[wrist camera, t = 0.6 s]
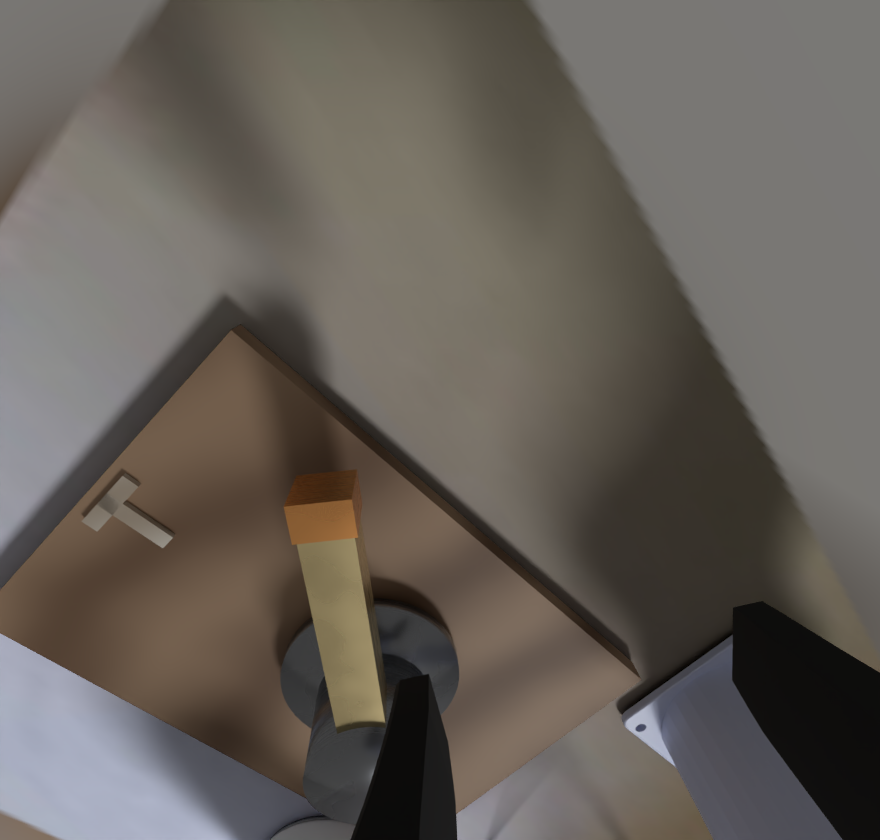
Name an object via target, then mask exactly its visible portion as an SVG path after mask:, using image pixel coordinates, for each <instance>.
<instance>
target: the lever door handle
mask: <svg viewBox="0 0 880 840" xmlns="http://www.w3.org/2000/svg"><path fill="white" fill-rule="evenodd" d="M284 511H285V515H286V520H287V525H288V529H289V534H290V538H291V543H292V545H296V544H297V548H298V553H299V557H300V562H301V567H302V571H303V576H304V581H305V585H306V590H307V595H308V599H309V604H310V609H311V614H312V617H311V618H310V619H308V620H307V621H306V622H305V623H304V624H303V625H302V626H301V627H300V628H299V629H298V630H297V632H296V633H295V634H294V635H293V637H292V639H291V641H290V642H289V644H288V647H287V650H286V652H285V656H284V660H283V663H282V668H281V673H280V683H281V689H282V693H283V696H284V699H285V701H286V703H287V705H288V707H289V708H290V709H291V711H292V712H293V713H294V715H295V716H296V717H297V718H298V719H299V720H300V721H301V722H303V723H304V724H305V725H307V726H308V727H309V728H311V735H310V741H309V746H308V752H307V758H306V764H305V770H304V775H303V790H304V793H305V796H306V798H307V800H308V801H309V803H310V804H311V805H312V806H313V807H314V808H315V809H316V810H317V811H319V812H320V813H322V814H323V815H325V816H327V817H329V818H331V819H334V820H336V821H340V822H343V823H349V824H356V823H357V820H358V818H359V815H360V812H361V809H362V807H363V804H364V801H365V798H366V795H367V792H368V789H369V785H370V782H371V779H372V776H373V773H374V769H375V766H376V763H377V760H378V757H379V753H380V750H381V746H382V743H383V739H384V735H385V732H386V728H387V724H388V720H389V716H390V712H391V707H392V703H393V698H394V693H395V688H396V685H397V683H398V682H399V681H400V680H402V679H407V678H411V677H416V676H421V675H425V674H429V676H430V679H431V683H432V687H433V690H434V694H435V697H436V701H437V704H438V708H439V711H440V715H441V714H442V713H443V712H444V711H445V710H446V709H447V707H448V706H449V705H450V703H451V701H452V700H453V698H454V696H455V693H456V690H457V688H458V683H459V664H458V657H457V651H456V647H455V645H454V642H453V640H452V638H451V636H450V634H449V633H448V631H447V630H446V629H445V627H444V626H443V625H442V624H441V623H440V622H439V621H438V620H437V619H436V618H434V617H433V616H432V615H430V614H429V613H427V612H425V611H424V610H422V609H420V608H418V607H416V606H413V605H410V604H408V603H404V602H401V601H397V600H391V599H383V598H373V594H372V587H371V581H370V574H369V568H368V561H367V555H366V549H365V542H364V536H363V529H362V523H361V511H362V498H361V492H360V485H359V479H358V472H357V469H355V470H345V471H336V472H326V473H317V474H307V475H297V476H296V478H295V480H294V483H293V485H292V488H291V490H290V492H289V495H288V497H287V500H286V502H285V505H284Z"/></svg>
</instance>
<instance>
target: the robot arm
mask: <svg viewBox="0 0 880 840" xmlns="http://www.w3.org/2000/svg"><path fill="white" fill-rule="evenodd" d="M622 722H623V724H624V726H625V727H626V728H627V729H628V730H629V731H631V732H632V733H633V734H634V735H636V736H637V737H638V738H639V739H641V740H642V741H643V742H645V743H646V744H647V745H648V746H650V747H651V748H652V749H653V750H655V751H656V752H657V753H658V754H660V755H661V756H662V757H664V758H665V759H666V760H667V761H669V762H670V763H671V764H672V765H674V766H675V767H676V768H677V770H678V772H679V773H680V775H681V777H682V779H683V781H684V783H685V785H686V787H687V789H688V791H689V793H690V795H691V797H692V799H693V801H694V803H695V805H696V806H697V808H698V810H699V812H700V814H701V816H702V818H703V820H704V822H705V824H706V826H707V828H708V830H709V832H710V834H711V836H712V837H713V839H714V840H880V673H879V672H878V671H876V670H874V669H873V668H871V667H869V666H868V665H866V664H864V663H863V662H861V661H859V660H858V659H856V658H854V657H853V656H851V655H849V654H848V653H846V652H844V651H843V650H841V649H839V648H838V647H836V646H834V645H833V644H831V643H830V642H828V641H826V640H825V639H823V638H821V637H820V636H818V635H816V634H815V633H813V632H812V631H810V630H808V629H807V628H805V627H804V626H802V625H800V624H799V623H797V622H795V621H794V620H792V619H791V618H789V617H787V616H786V615H784V614H782V613H781V612H779V611H778V610H776V609H774V608H773V607H771V606H769V605H768V604H766V603H764V602H763V601H761V602H757V603H752V604H747V605H743V606H738V607H734V608H733V635H731V636H730V637H728V638H727V639H726V640H724V641H723V642H721V643H720V644H719V645H717V646H716V647H714V648H713V649H712V650H710V651H709V652H707V653H706V654H705V655H703V656H702V657H701V658H699V659H698V660H696V661H695V662H694V663H692V664H691V665H689V666H688V667H687V668H685V669H684V670H682V671H681V672H680V673H678V674H677V675H675V676H674V677H673V678H671V679H670V680H668V681H667V682H666V683H664V684H663V685H661V686H660V687H659V688H657V689H656V690H654V691H653V692H652V693H650V694H649V695H647V696H646V697H645V698H643V699H642V700H640V701H639V702H638V703H636V704H635V705H633V706H632V707H631V708H629V709H628V710H626V711H625V712H624V713H623V715H622ZM351 840H457V824H456V801H455V792H454V784H453V775H452V768H451V760H450V752H449V745H448V740H447V736H446V732H445V729H444V725H443V722H442V718H441V715H440V711H439V708H438V704H437V701H436V697H435V694H434V690H433V687H432V683H431V679H430V676H429V674H425V675H421V676H416V677H411V678H407V679H402V680H400V681H399V682H398V683H397V685H396V688H395V693H394V698H393V703H392V707H391V712H390V716H389V720H388V724H387V728H386V732H385V735H384V739H383V743H382V746H381V750H380V753H379V757H378V760H377V763H376V766H375V769H374V773H373V776H372V779H371V782H370V785H369V789H368V792H367V795H366V798H365V801H364V804H363V807H362V809H361V812H360V815H359V818H358V820H357V823H356V826H355V829H354V831H353V834H352V837H351Z"/></svg>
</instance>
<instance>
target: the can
mask: <svg viewBox="0 0 880 840" xmlns="http://www.w3.org/2000/svg"><path fill="white" fill-rule="evenodd" d="M355 826H356V825H355V824H349V823H343V822H340V821H336V820H334V819H331V818H329V817H327V816H320V817H311V818H306V819H302V820H299V821H296V822H294V823H291V824H289V825H287V826H286V827H284V828H282V829H281V830H280V831H278V832H277V833H276V834H275V835H274V836H273V837H272V839H270V840H351V837H352V834H353V831H354V829H355Z"/></svg>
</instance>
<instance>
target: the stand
mask: <svg viewBox="0 0 880 840" xmlns="http://www.w3.org/2000/svg"><path fill="white" fill-rule="evenodd" d="M355 469H357V472H358V479H359V485H360V492H361V498H362V511H361V523H362V529H363V536H364V542H365V549H366V555H367V561H368V568H369V574H370V581H371V587H372V594H373V598H383V599H391V600H397V601H401V602H404V603H408V604H410V605H413V606H416V607H418V608H420V609H422V610H424V611H425V612H427V613H429V614H430V615H432V616H433V617H434V618H436V619H437V620H438V621H439V622H440V623H441V624H442V625H443V626H444V627H445V629H446V630H447V631H448V633H449V634H450V636H451V638H452V640H453V642H454V645H455V647H456V651H457V657H458V664H459V683H458V688H457V690H456V693H455V696H454V698H453V700H452V701H451V703H450V705H449V706H448V707H447V709H446V710H445V711H444V712H443V713H442V714H441V718H442V722H443V725H444V729H445V732H446V736H447V740H448V745H449V752H450V760H451V768H452V775H453V784H454V792H455V801H456V814H457V813H458V812H460V811H461V810H462V809H464V808H465V807H467V806H468V805H469V804H471V803H472V802H474V801H475V800H476V799H478V798H479V797H480V796H482V795H483V794H485V793H486V792H487V791H489V790H490V789H491V788H493V787H494V786H496V785H497V784H498V783H500V782H501V781H503V780H504V779H505V778H507V777H508V776H509V775H511V774H512V773H514V772H515V771H516V770H518V769H519V768H520V767H522V766H523V765H525V764H526V763H527V762H529V761H530V760H532V759H533V758H534V757H536V756H537V755H538V754H540V753H541V752H543V751H544V750H545V749H547V748H548V747H549V746H551V745H552V744H554V743H555V742H556V741H558V740H559V739H561V738H562V737H563V736H565V735H566V734H567V733H569V732H570V731H572V730H573V729H574V728H576V727H577V726H578V725H580V724H581V723H583V722H584V721H585V720H587V719H588V718H589V717H591V716H592V715H594V714H595V713H596V712H598V711H599V710H601V709H602V708H603V707H605V706H606V705H607V704H609V703H610V702H612V701H613V700H614V699H616V698H617V697H618V696H620V695H621V694H623V693H624V692H625V691H627V690H628V689H630V688H631V687H632V686H634V685H635V684H636V683H638V682H639V681H641V678H640V676H639V674H638V672H637V670H636V669H635V667H634V665H633V663H632V661H630V660H629V659H628V658H627V657H626V656H625V655H623V654H622V653H621V652H620V651H619V650H618V649H617V648H615V647H614V646H613V645H612V644H611V643H610V642H608V641H607V640H606V639H605V638H604V637H603V636H601V635H600V634H599V633H598V632H597V631H596V630H594V629H593V628H592V627H591V626H590V625H589V624H588V623H586V622H585V621H584V620H583V619H582V618H581V617H579V616H578V615H577V614H576V613H575V612H574V611H572V610H571V609H570V608H569V607H568V606H567V605H565V604H564V603H563V602H562V601H561V600H560V599H559V598H557V597H556V596H555V595H554V594H553V593H552V592H550V591H549V590H548V589H547V588H546V587H545V586H543V585H542V584H541V583H540V582H539V581H538V580H536V579H535V578H534V577H533V576H532V575H531V574H530V573H528V572H527V571H526V570H525V569H524V568H523V567H521V566H520V565H519V564H518V563H517V562H516V561H514V560H513V559H512V558H511V557H510V556H509V555H507V554H506V553H505V552H504V551H503V550H502V549H501V548H499V547H498V546H497V545H496V544H495V543H494V542H492V541H491V540H490V539H489V538H488V537H487V536H485V535H484V534H483V533H482V532H481V531H480V530H478V529H477V528H476V527H475V526H474V525H473V524H472V523H470V522H469V521H468V520H467V519H466V518H465V517H463V516H462V515H461V514H460V513H459V512H458V511H456V510H455V509H454V508H453V507H452V506H451V505H450V504H448V503H447V502H446V501H445V500H444V499H443V498H441V497H440V496H439V495H438V494H437V493H436V492H434V491H433V490H432V489H431V488H430V487H429V486H427V485H426V484H425V483H424V482H423V481H422V480H421V479H419V478H418V477H417V476H416V475H415V474H414V473H412V472H411V471H410V470H409V469H408V468H407V467H405V466H404V465H403V464H402V463H401V462H400V461H398V460H397V459H396V458H395V457H394V456H393V455H392V454H390V453H389V452H388V451H387V450H386V449H385V448H383V447H382V446H381V445H380V444H379V443H378V442H376V441H375V440H374V439H373V438H372V437H371V436H369V435H368V434H367V433H366V432H365V431H364V430H363V429H361V428H360V427H359V426H358V425H357V424H356V423H354V422H353V421H352V420H351V419H350V418H349V417H347V416H346V415H345V414H344V413H343V412H342V411H340V410H339V409H338V408H337V407H336V406H335V405H334V404H332V403H331V402H330V401H329V400H328V399H327V398H325V397H324V396H323V395H322V394H321V393H320V392H318V391H317V390H316V389H315V388H314V387H313V386H311V385H310V384H309V383H308V382H307V381H306V380H305V379H303V378H302V377H301V376H300V375H299V374H298V373H296V372H295V371H294V370H293V369H292V368H291V367H289V366H288V365H287V364H286V363H285V362H284V361H282V360H281V359H280V358H279V357H278V356H277V355H276V354H274V353H273V352H272V351H271V350H270V349H269V348H267V347H266V346H265V345H264V344H263V343H262V342H260V341H259V340H258V339H257V338H256V337H255V336H253V335H252V334H251V333H250V332H249V331H248V330H247V329H245V328H244V327H243V326H242V325H241V324H240V325H238V326H237V327H235V328H234V329H232V330H231V331H230V332H229V333H228V334H227V335H226V336H225V337H224V338H223V340H222V341H221V342H220V343H219V344H218V345H217V346H216V348H215V349H214V350H213V351H212V352H211V353H210V354H209V355H208V357H207V358H206V359H205V360H204V361H203V362H202V363H201V364H200V366H199V367H198V368H197V369H196V370H195V371H194V372H193V373H192V375H191V376H190V377H189V378H188V379H187V380H186V381H185V382H184V384H183V385H182V386H181V387H180V388H179V389H178V390H177V391H176V393H175V394H174V395H173V396H172V397H171V398H170V399H169V400H168V402H167V403H166V404H165V405H164V406H163V407H162V408H161V409H160V411H159V412H158V413H157V414H156V415H155V416H154V417H153V418H152V420H151V421H150V422H149V423H148V424H147V425H146V426H145V427H144V429H143V430H142V431H141V432H140V433H139V434H138V435H137V437H136V438H135V439H134V440H133V441H132V442H131V443H130V444H129V446H128V447H127V448H126V449H125V450H124V451H123V452H122V453H121V455H120V456H119V457H118V458H117V459H116V460H115V461H114V462H113V464H112V465H111V466H110V467H109V468H108V469H107V470H106V471H105V473H104V474H103V475H102V476H101V477H100V478H99V479H98V480H97V482H96V483H95V484H94V485H93V486H92V487H91V488H90V489H89V491H88V492H87V493H86V494H85V495H84V496H83V497H82V498H81V500H80V501H79V502H78V503H77V504H76V505H75V506H74V507H73V509H72V510H71V511H70V512H69V513H68V514H67V515H66V516H65V518H64V519H63V520H62V521H61V522H60V523H59V524H58V525H57V527H56V528H55V529H54V530H53V531H52V532H51V533H50V535H49V536H48V537H47V538H46V539H45V540H44V541H43V542H42V544H41V545H40V546H39V547H38V548H37V549H36V550H35V551H34V553H33V554H32V555H31V556H30V557H29V558H28V559H27V560H26V562H25V563H24V564H23V565H22V566H21V567H20V568H19V569H18V571H17V572H16V573H15V574H14V575H13V576H12V577H11V578H10V580H9V581H8V582H7V583H6V584H5V585H4V586H3V587H2V589H1V590H0V633H1V634H3V635H5V636H6V637H8V638H10V639H12V640H14V641H16V642H17V643H19V644H21V645H23V646H25V647H27V648H29V649H30V650H32V651H34V652H36V653H38V654H40V655H42V656H43V657H45V658H47V659H49V660H51V661H53V662H55V663H56V664H58V665H60V666H62V667H64V668H66V669H68V670H69V671H71V672H73V673H75V674H77V675H79V676H80V677H82V678H84V679H86V680H88V681H90V682H92V683H93V684H95V685H97V686H99V687H101V688H103V689H105V690H106V691H108V692H110V693H112V694H114V695H116V696H118V697H119V698H121V699H123V700H125V701H127V702H129V703H131V704H132V705H134V706H136V707H138V708H140V709H142V710H143V711H145V712H147V713H149V714H151V715H153V716H155V717H156V718H158V719H160V720H162V721H164V722H166V723H168V724H169V725H171V726H173V727H175V728H177V729H179V730H181V731H182V732H184V733H186V734H188V735H190V736H192V737H193V738H195V739H197V740H199V741H201V742H203V743H205V744H206V745H208V746H210V747H212V748H214V749H216V750H218V751H219V752H221V753H223V754H225V755H227V756H229V757H231V758H232V759H234V760H236V761H238V762H240V763H242V764H244V765H245V766H247V767H249V768H251V769H253V770H255V771H256V772H258V773H260V774H262V775H264V776H266V777H268V778H269V779H271V780H273V781H275V782H277V783H279V784H281V785H282V786H284V787H286V788H288V789H290V790H292V791H294V792H295V793H297V794H299V795H301V796H303V797H305V798H306V796H305V793H304V790H303V775H304V770H305V764H306V758H307V752H308V746H309V741H310V735H311V728H309V727H308V726H307V725H305V724H304V723H303V722H301V721H300V720H299V719H298V718H297V717H296V716H295V715H294V713H293V712H292V711H291V709H290V708H289V707H288V705H287V703H286V701H285V699H284V696H283V693H282V689H281V683H280V673H281V668H282V663H283V660H284V656H285V652H286V650H287V647H288V644H289V642H290V641H291V639H292V637H293V635H294V634H295V633H296V632H297V630H298V629H299V628H300V627H301V626H302V625H303V624H304V623H305V622H306V621H307V620H308V619H310V618H311V617H312V614H311V609H310V604H309V599H308V595H307V590H306V585H305V581H304V576H303V571H302V567H301V562H300V557H299V553H298V548H297V544H296V545H292V543H291V538H290V534H289V529H288V525H287V520H286V515H285V511H284V505H285V502H286V500H287V497H288V495H289V492H290V490H291V488H292V485H293V483H294V480H295V478H296V476H297V475H307V474H317V473H326V472H336V471H345V470H355ZM306 799H307V798H306ZM355 825H356V824H355Z"/></svg>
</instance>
